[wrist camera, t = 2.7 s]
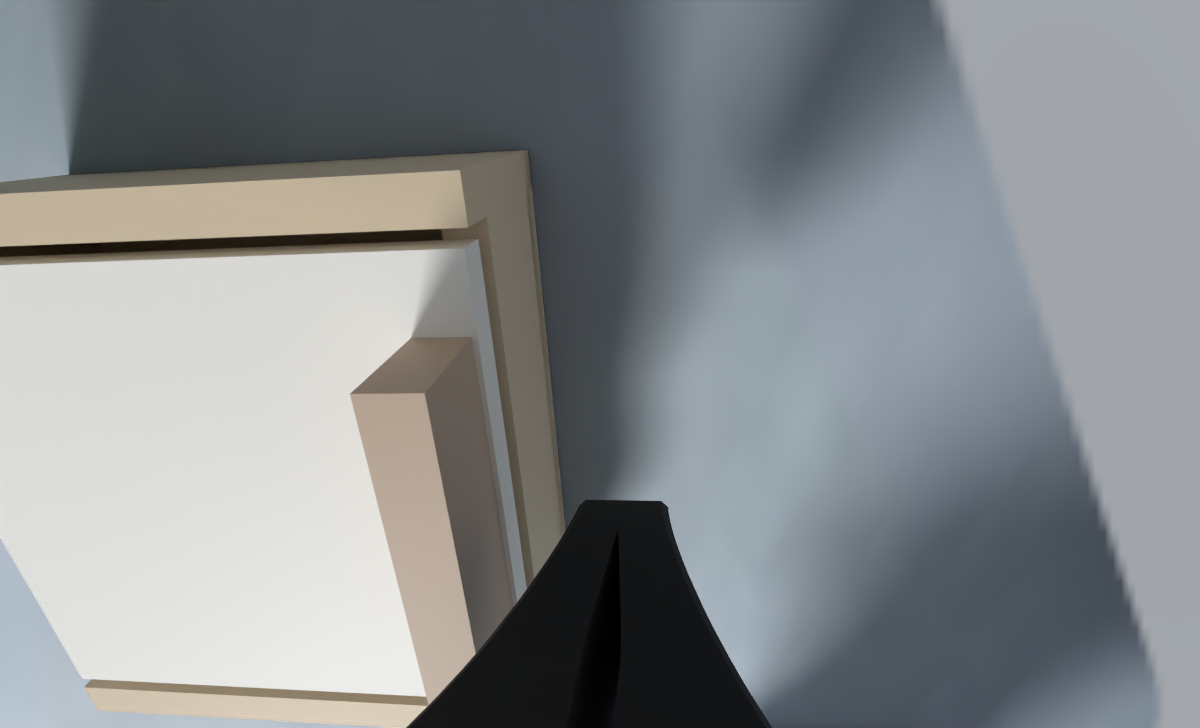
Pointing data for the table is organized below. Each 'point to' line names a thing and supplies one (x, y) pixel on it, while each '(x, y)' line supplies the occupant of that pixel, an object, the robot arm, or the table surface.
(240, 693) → the box
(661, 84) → the table surface
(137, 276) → the lid
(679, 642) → the robot arm
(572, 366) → the table surface
